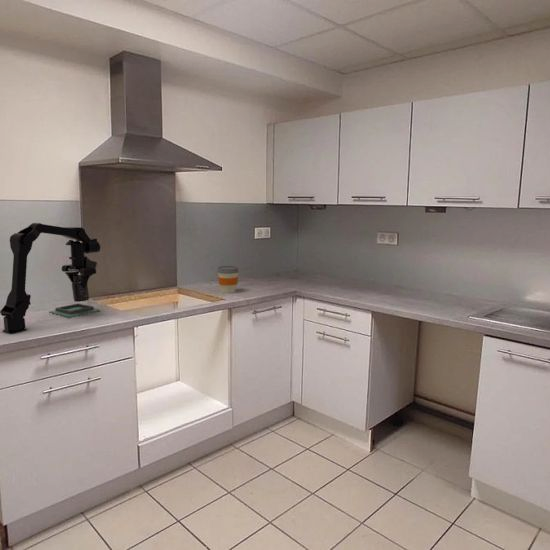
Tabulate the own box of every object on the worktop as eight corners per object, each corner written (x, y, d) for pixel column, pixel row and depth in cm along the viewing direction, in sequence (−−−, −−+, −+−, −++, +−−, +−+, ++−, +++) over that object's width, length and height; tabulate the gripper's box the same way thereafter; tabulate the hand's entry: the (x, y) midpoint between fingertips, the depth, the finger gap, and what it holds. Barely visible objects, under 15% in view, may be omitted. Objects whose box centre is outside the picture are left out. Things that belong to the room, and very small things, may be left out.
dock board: (69, 318, 195) (68, 313, 195) (49, 313, 204) (48, 308, 203) (99, 311, 209) (99, 306, 208) (79, 306, 217) (79, 302, 217)
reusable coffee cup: (237, 294, 254) (237, 269, 251) (216, 293, 254) (216, 268, 251) (239, 290, 266) (239, 266, 264) (219, 289, 266) (218, 265, 264)
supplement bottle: (70, 301, 199) (67, 276, 198) (84, 298, 205) (80, 274, 204) (79, 302, 196) (76, 276, 194) (92, 299, 201) (89, 274, 200)
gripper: (105, 254, 199) (107, 287, 201) (82, 251, 209) (83, 283, 211) (83, 256, 190) (85, 291, 192) (60, 253, 200) (62, 286, 202)
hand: (79, 287), depth 200 cm, fingers closed on supplement bottle, 7 cm apart
